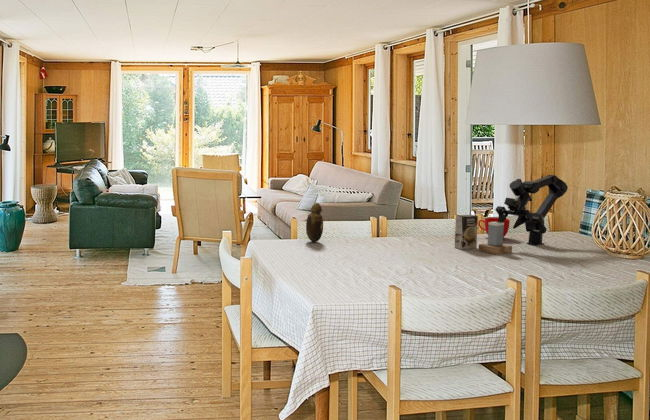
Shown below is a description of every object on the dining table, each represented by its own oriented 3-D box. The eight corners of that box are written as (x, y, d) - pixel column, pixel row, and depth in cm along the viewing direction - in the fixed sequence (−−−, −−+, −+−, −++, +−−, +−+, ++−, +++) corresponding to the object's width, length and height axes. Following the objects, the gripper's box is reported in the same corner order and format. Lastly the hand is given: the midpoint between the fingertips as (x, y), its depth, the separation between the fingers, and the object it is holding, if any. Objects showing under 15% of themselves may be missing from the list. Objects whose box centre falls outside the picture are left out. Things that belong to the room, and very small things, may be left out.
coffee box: (462, 249, 363) (463, 216, 361) (454, 247, 368) (455, 215, 366) (477, 248, 367) (478, 215, 365) (468, 246, 373) (470, 214, 370)
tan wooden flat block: (495, 248, 367) (495, 242, 366) (511, 252, 357) (512, 246, 357) (478, 250, 361) (478, 244, 360) (495, 254, 352) (495, 248, 351)
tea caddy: (494, 243, 362) (495, 221, 361) (503, 245, 358) (504, 222, 357) (487, 245, 359) (488, 222, 358) (496, 246, 355) (497, 223, 354)
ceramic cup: (483, 234, 408) (483, 216, 406) (512, 237, 398) (513, 219, 397) (472, 237, 397) (473, 219, 396) (503, 241, 388) (503, 222, 386)
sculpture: (323, 244, 375) (324, 204, 372) (307, 244, 374) (307, 204, 371) (321, 239, 388) (321, 201, 385) (305, 239, 387) (305, 201, 384)
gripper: (498, 189, 370) (483, 214, 365) (530, 193, 356) (514, 218, 351) (507, 204, 376) (493, 228, 371) (539, 208, 362) (524, 233, 357)
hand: (505, 226), depth 362 cm, fingers open, 9 cm apart
